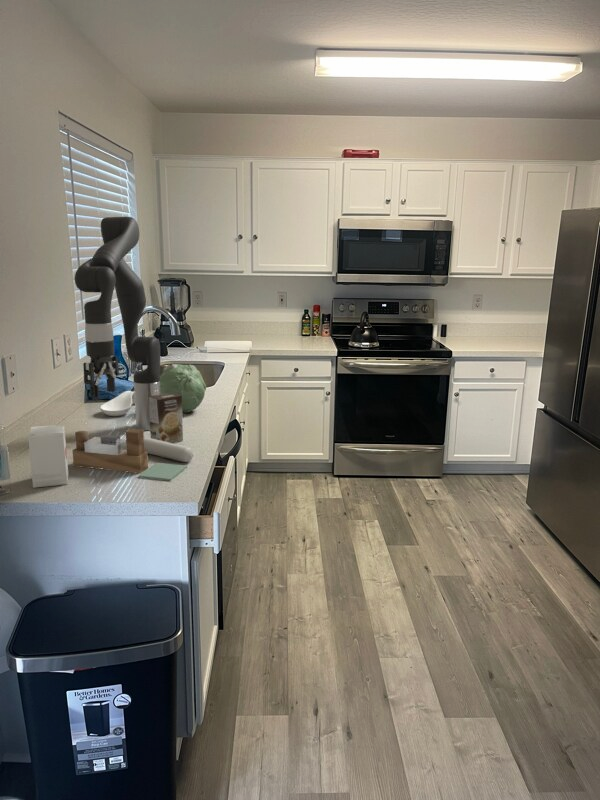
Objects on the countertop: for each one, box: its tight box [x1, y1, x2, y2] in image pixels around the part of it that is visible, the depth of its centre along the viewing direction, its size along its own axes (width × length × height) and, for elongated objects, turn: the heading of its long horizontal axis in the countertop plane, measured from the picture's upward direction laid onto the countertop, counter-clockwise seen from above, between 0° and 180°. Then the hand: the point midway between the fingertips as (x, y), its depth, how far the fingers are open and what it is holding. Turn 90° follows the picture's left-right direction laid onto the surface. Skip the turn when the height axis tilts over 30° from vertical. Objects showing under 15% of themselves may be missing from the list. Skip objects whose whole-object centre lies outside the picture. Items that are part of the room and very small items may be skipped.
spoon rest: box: [99, 390, 135, 417], centre depth 235 cm, size 24×12×7 cm, turn 167°
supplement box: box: [27, 424, 69, 488], centre depth 160 cm, size 9×9×15 cm
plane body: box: [72, 428, 149, 474], centre depth 171 cm, size 4×22×12 cm, turn 77°
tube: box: [144, 436, 194, 463], centre depth 182 cm, size 5×5×25 cm
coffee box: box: [149, 393, 184, 444], centre depth 195 cm, size 9×6×16 cm
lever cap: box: [84, 434, 127, 455], centre depth 171 cm, size 6×11×5 cm, turn 77°
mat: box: [137, 462, 188, 482], centre depth 169 cm, size 11×10×1 cm
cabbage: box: [160, 363, 207, 414], centre depth 232 cm, size 16×19×20 cm
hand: (103, 394), depth 168 cm, fingers open, 8 cm apart
